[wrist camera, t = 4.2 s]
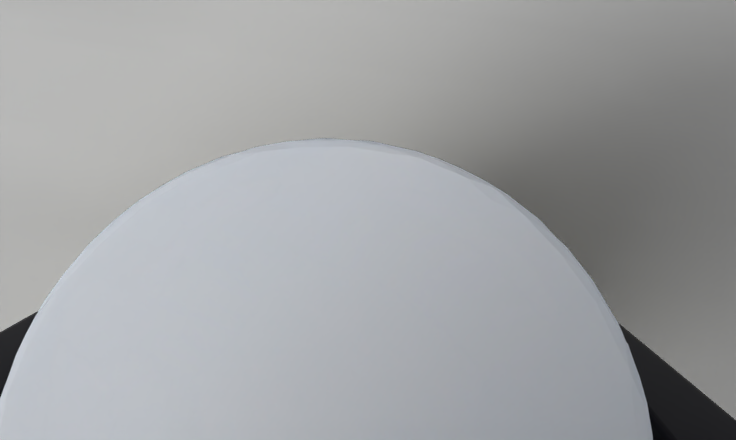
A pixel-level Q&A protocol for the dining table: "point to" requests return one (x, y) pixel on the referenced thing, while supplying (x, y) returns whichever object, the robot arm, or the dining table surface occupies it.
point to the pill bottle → (325, 313)
